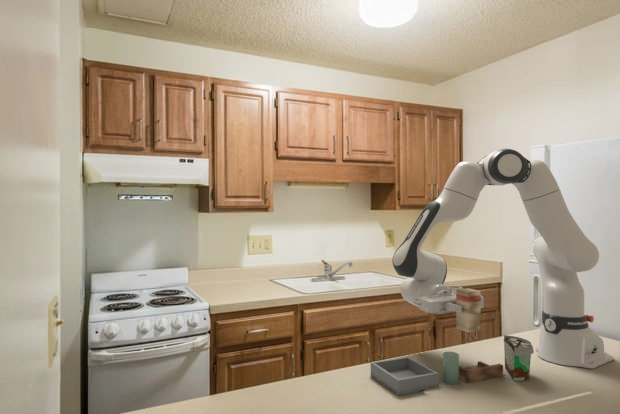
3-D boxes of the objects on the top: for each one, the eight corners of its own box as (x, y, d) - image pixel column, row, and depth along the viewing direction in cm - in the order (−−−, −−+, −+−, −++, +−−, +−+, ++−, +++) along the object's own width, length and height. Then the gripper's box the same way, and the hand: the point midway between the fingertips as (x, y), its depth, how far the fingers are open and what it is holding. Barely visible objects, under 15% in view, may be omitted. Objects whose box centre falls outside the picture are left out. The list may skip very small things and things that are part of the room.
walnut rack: (481, 366, 127) (481, 354, 127) (506, 377, 119) (506, 364, 119) (443, 373, 122) (443, 360, 122) (466, 385, 113) (466, 372, 113)
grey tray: (408, 369, 125) (408, 356, 125) (438, 387, 112) (438, 373, 112) (370, 375, 120) (370, 362, 120) (398, 395, 107) (398, 380, 107)
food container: (540, 387, 112) (540, 349, 112) (515, 385, 113) (515, 348, 114) (526, 370, 124) (526, 335, 124) (503, 368, 126) (503, 334, 126)
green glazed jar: (451, 379, 117) (451, 350, 117) (462, 385, 114) (462, 355, 114) (440, 382, 116) (440, 352, 116) (450, 387, 112) (450, 357, 112)
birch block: (468, 326, 123) (468, 288, 123) (480, 330, 119) (480, 291, 119) (455, 327, 121) (456, 289, 121) (467, 332, 117) (467, 292, 117)
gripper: (410, 290, 128) (440, 300, 115) (463, 286, 136) (497, 294, 123) (409, 311, 128) (440, 323, 115) (463, 306, 136) (497, 316, 123)
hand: (470, 308), depth 119 cm, fingers closed on birch block, 4 cm apart
